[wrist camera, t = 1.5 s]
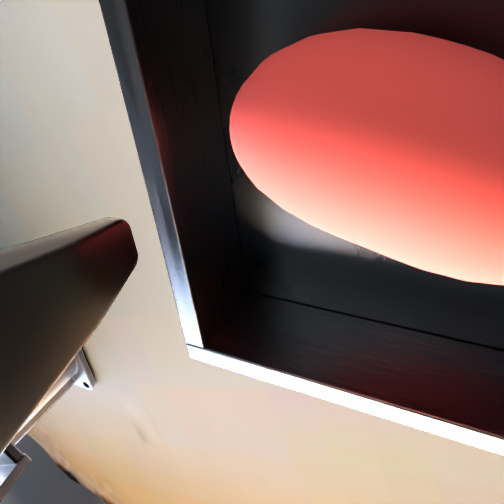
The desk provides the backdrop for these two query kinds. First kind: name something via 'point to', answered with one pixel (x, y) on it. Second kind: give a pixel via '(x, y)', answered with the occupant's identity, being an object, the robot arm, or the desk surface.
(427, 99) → the stress ball
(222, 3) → the dark grey square tray
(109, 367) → the desk surface
